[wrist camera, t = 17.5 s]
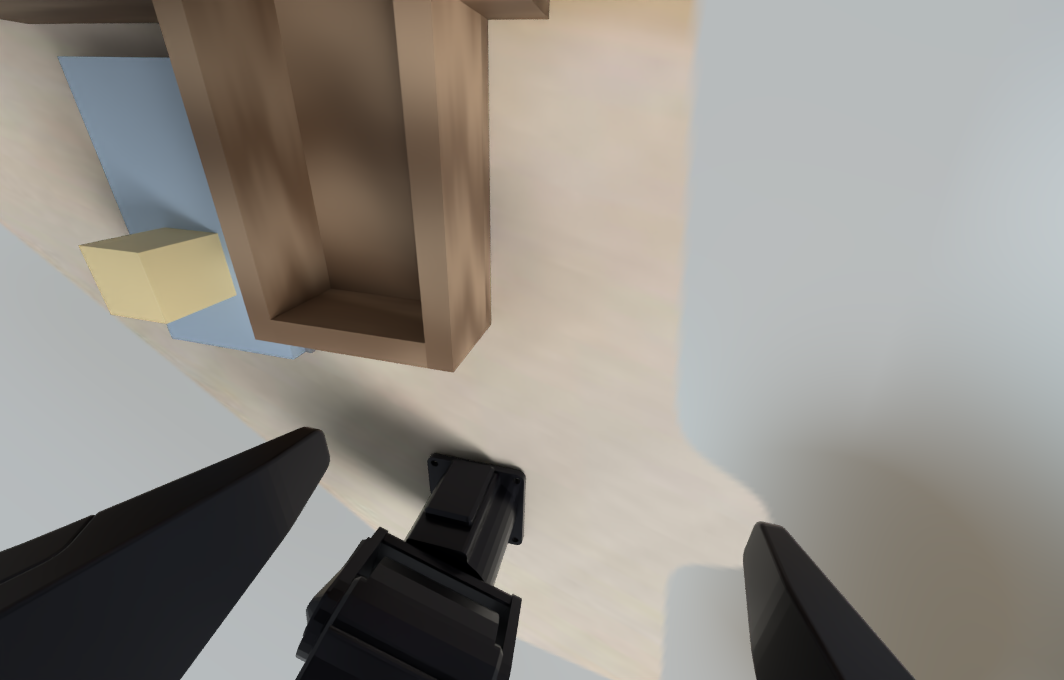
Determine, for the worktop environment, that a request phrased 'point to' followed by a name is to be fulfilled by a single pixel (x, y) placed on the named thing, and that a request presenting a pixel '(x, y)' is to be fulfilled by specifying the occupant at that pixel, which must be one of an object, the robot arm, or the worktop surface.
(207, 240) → the lid
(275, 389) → the worktop surface
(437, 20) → the brown wooden box
